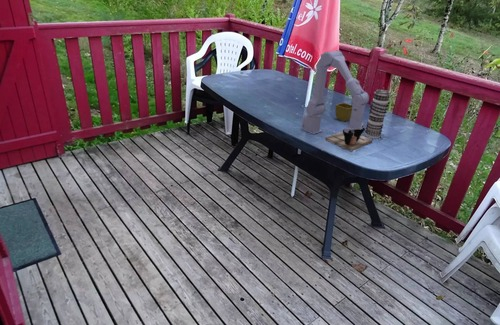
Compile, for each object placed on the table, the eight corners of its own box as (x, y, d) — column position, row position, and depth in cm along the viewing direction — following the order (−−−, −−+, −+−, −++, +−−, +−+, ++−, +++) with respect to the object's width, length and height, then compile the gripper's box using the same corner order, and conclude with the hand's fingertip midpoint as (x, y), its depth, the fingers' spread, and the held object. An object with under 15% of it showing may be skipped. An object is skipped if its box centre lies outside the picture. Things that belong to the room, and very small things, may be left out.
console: (325, 140, 187) (325, 137, 186) (346, 132, 198) (347, 129, 197) (351, 151, 176) (351, 148, 175) (372, 142, 188) (372, 139, 187)
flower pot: (340, 116, 222) (343, 102, 218) (353, 120, 217) (356, 106, 212) (332, 119, 216) (335, 104, 212) (345, 123, 211) (348, 108, 207)
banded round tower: (381, 139, 192) (393, 94, 181) (364, 136, 194) (374, 91, 183) (380, 133, 200) (391, 89, 189) (363, 130, 202) (373, 87, 191)
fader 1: (345, 133, 192) (346, 127, 190) (348, 131, 193) (349, 125, 192) (350, 135, 190) (351, 128, 188) (353, 133, 192) (354, 127, 190)
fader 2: (347, 142, 180) (348, 136, 179) (350, 141, 182) (351, 134, 181) (352, 144, 178) (353, 138, 177) (355, 143, 180) (356, 136, 179)
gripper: (355, 122, 167) (349, 148, 173) (371, 116, 176) (366, 141, 182) (342, 118, 172) (337, 143, 178) (359, 112, 180) (354, 137, 187)
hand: (351, 142), depth 180 cm, fingers open, 7 cm apart
